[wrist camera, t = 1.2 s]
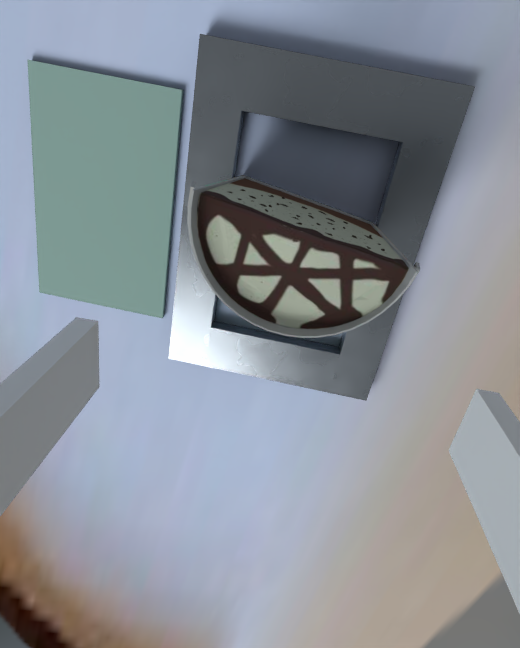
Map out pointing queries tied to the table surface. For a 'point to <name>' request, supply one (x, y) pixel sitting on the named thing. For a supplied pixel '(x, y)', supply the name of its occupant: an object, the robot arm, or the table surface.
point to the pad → (103, 185)
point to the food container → (292, 259)
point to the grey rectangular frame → (327, 111)
